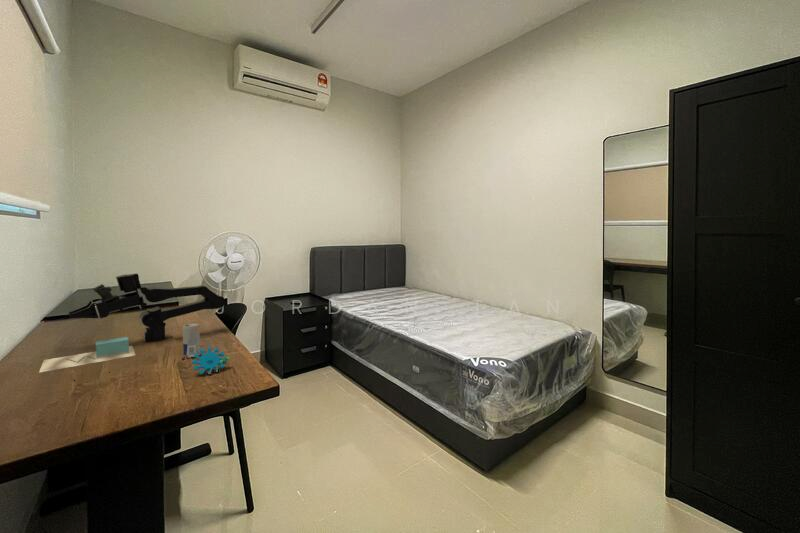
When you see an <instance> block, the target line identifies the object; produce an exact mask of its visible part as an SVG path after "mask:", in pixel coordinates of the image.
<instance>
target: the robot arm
mask: <svg viewBox="0 0 800 533" xmlns="http://www.w3.org/2000/svg"><path fill="white" fill-rule="evenodd" d="M115 279H116V282H117V285H118V288H119V291H120V292H123V294H120V295H117V294H115V295H113V294H112V292H111V291H113V289H112V288H111V287H110V286H105V285H104V284H102V283H101V284H100V285H97V286H96V287H93V288H92V290H93V291H94V292H95V293H97V294H98V295H99V297H100V298H98V297H97V298H93V299H90V300H89V301H88V303H87V304H86V305H84V306H81V307H79V308H77V309H74V310H72V311H69V312H68V316H69V318H71V319H74V318H75V319H78V318H79V319H99V318H100V319H104V318H108V316H109V315H110V314H111V313H115V312H118V311H120V312H121V311H124V310H126V309H129V308H134V307H138V306H139V309H141V310H143V311H142V312H141V313H140V314H139V315H138V316H139V317H138V319H139V322H141V324H143V326H145V327H146V328H145V331H144V332H143V335H144V342H145V343H146V342H147V343H148V342H159V341H160V342H161V341H162V340H165V339H166V325H167V323H165V321H166V320H169V319H172V318H176V317H180V316H184V315H188V314H190V313H194V312H199V311H202V310H215V309H223V308H224V307H225V305H226V303H227V302H226V298H225V297H224V296H221V295H219V294H217V293H216V292H215V293H214V291H212V290H210V289H209V288H208V287H207V286H205V285H201V284H200V285H198V286H197V285H196V286H195V285H194V286H185V287H174V288H173V287H171V288H167V287H155V286H152V287H151V286H150V287H145V286H144V285H141V282H140V276H139V274H138V272H137V273H130V274H129V273H128V274H127V273H126V274H122V275H118V276H115ZM139 292H140V293H141V294H142V295H139V294H140V293H139ZM192 296H193V297H194V296H201V297H203V299H201V300H198V301H194V302H190V303H185V304H182V305H177V306H174V307H169V308H165V309H163V308H161V307H160V306H154V307H152V308H146V307H147V305H148V303H146V302H144V299H145V300H146V301H148V302H150V303H158V302H163V301H166V300H169V299H172V298H182V297H192ZM145 308H146V310H144V309H145Z"/></svg>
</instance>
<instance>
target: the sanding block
mask: <svg viewBox="0 0 800 533" xmlns="http://www.w3.org/2000/svg"><path fill="white" fill-rule="evenodd" d="M129 340H130V339H129V336H124V337H123V336H122V337H116V338H111V339H103V340H98V341H95V352H96V357H97V358H103V357H108V356H114V355H120V354H126V353H129V346H130V344H129V343H130V342H129Z"/></svg>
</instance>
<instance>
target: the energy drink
mask: <svg viewBox="0 0 800 533" xmlns="http://www.w3.org/2000/svg"><path fill="white" fill-rule="evenodd" d="M200 338H201V335H200V325H199V323H198V322H197V323H196V322H193V323H192V322H191V323H186V324H183V325H182V348H183V356H185V357H186V358H185V359H192V358H191V357H194V355H195V354H196V353H198V354H200V355H201V353H200V349H201V339H200Z"/></svg>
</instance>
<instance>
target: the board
mask: <svg viewBox="0 0 800 533" xmlns="http://www.w3.org/2000/svg"><path fill="white" fill-rule="evenodd" d="M135 356H136V353H135V349H134V346H133V345H129V353H126V354H120V355H114V356H108V357H103V358H97V357H96V351H89V352H84V353H78V354H73V355H67V356H60V357H55V358H47V359H43V362H42V364H41V367H40V369H39V372H38V373H44V372H51V371H57V370H62V369H68V368H72V367H73V368H74V367H78V366H83V365H89V364H94V363H100V362H101V363H102V362H106V361H112V360H118V359H124V358H128V357H135Z"/></svg>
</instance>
